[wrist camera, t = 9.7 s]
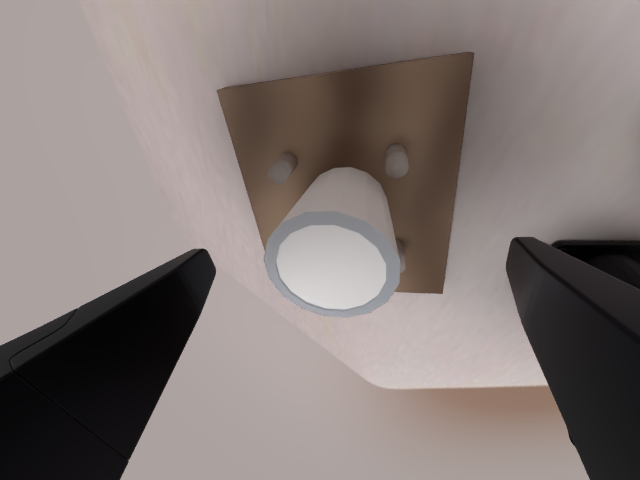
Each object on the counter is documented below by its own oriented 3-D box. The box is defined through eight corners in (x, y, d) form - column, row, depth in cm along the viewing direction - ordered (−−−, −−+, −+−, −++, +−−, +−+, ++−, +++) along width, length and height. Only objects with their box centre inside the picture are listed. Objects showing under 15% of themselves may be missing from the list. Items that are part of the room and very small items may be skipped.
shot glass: (404, 238, 20) (411, 314, 15) (315, 252, 23) (292, 323, 17) (385, 144, 17) (385, 196, 11) (282, 171, 19) (239, 226, 14)
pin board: (468, 51, 15) (487, 54, 12) (440, 283, 24) (447, 317, 21) (225, 87, 18) (194, 96, 15) (279, 278, 27) (266, 307, 24)
